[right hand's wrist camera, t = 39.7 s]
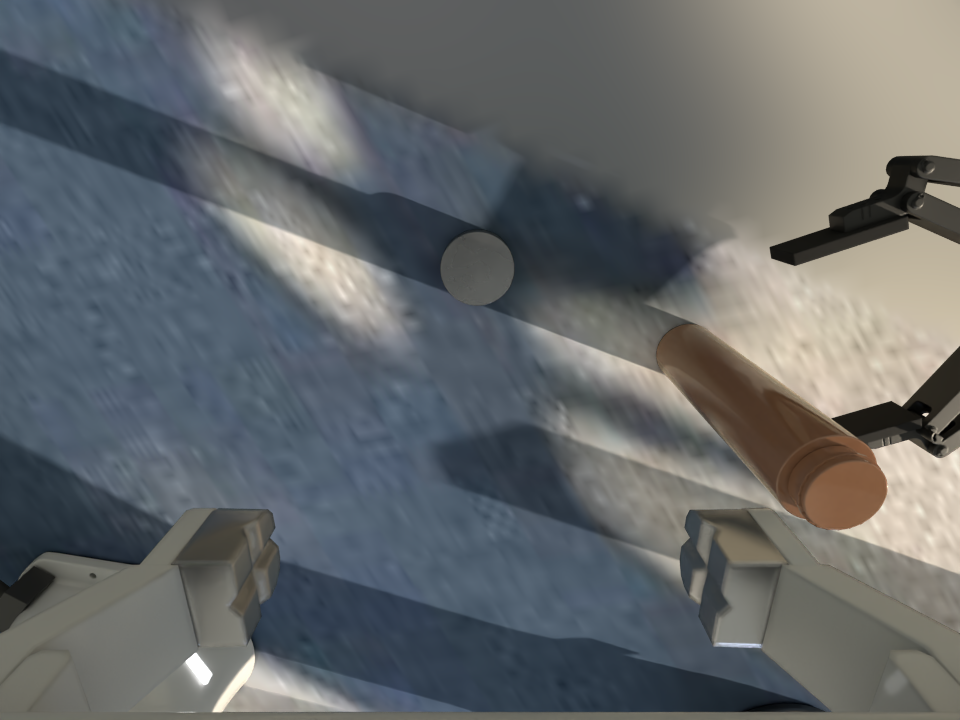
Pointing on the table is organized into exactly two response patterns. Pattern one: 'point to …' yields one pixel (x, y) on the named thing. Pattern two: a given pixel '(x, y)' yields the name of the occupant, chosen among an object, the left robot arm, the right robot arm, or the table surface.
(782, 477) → the copper grooved cylinder
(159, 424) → the table surface
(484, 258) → the lid
